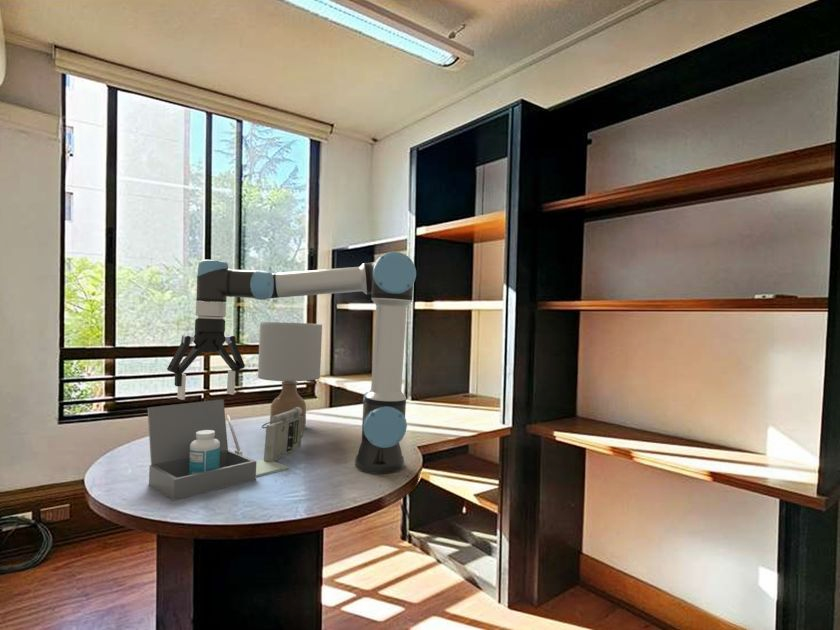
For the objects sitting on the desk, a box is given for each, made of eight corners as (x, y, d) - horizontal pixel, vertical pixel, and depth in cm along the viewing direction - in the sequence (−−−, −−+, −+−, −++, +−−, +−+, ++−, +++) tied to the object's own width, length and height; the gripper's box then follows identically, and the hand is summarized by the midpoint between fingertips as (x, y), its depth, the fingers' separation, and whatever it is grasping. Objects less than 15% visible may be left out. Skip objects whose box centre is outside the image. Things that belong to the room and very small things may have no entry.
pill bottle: (217, 475, 134) (219, 427, 134) (220, 484, 128) (222, 434, 128) (187, 479, 131) (189, 429, 131) (189, 488, 124) (191, 436, 124)
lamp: (279, 418, 207) (283, 322, 207) (328, 425, 200) (332, 324, 200) (242, 430, 184) (247, 322, 185) (296, 438, 177) (301, 325, 177)
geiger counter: (278, 416, 146) (313, 405, 171) (260, 414, 148) (296, 403, 172) (275, 462, 146) (309, 444, 170) (256, 460, 147) (293, 442, 172)
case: (259, 478, 134) (262, 408, 134) (173, 500, 116) (177, 419, 116) (224, 462, 146) (227, 398, 146) (142, 480, 128) (145, 407, 128)
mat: (287, 468, 143) (287, 466, 143) (254, 477, 134) (254, 475, 134) (267, 460, 150) (267, 458, 150) (234, 468, 141) (234, 466, 141)
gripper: (245, 318, 141) (242, 390, 141) (155, 315, 122) (151, 398, 122) (259, 319, 136) (256, 393, 136) (168, 317, 117) (164, 403, 117)
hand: (206, 396), depth 129 cm, fingers open, 13 cm apart
